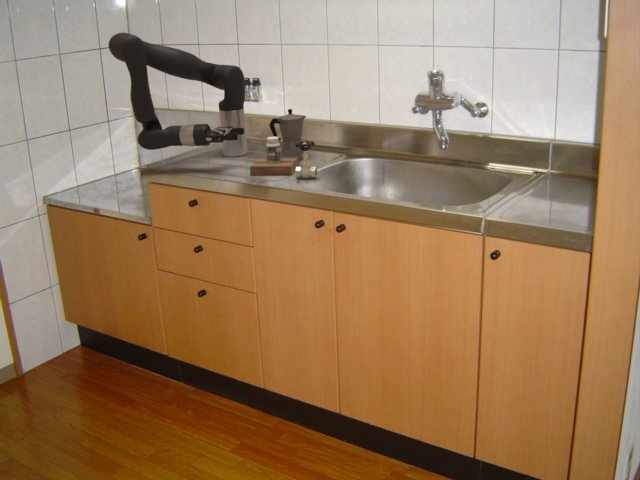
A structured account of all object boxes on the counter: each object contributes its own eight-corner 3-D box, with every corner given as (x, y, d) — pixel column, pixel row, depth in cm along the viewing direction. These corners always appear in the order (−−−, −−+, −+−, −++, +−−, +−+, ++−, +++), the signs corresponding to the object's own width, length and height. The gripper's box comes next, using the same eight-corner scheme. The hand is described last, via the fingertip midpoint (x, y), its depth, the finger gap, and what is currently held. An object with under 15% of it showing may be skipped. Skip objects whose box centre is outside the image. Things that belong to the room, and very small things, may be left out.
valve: (314, 181, 237) (312, 144, 233) (294, 181, 238) (292, 144, 234) (318, 176, 243) (316, 140, 239) (299, 176, 244) (296, 140, 240)
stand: (260, 165, 260) (259, 157, 259) (298, 165, 258) (298, 156, 257) (250, 175, 247) (249, 167, 246) (291, 175, 245) (290, 166, 244)
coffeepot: (300, 153, 276) (298, 105, 270) (315, 157, 268) (312, 108, 262) (265, 160, 268) (262, 111, 262) (279, 164, 260) (275, 114, 254)
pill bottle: (264, 162, 251) (262, 138, 248) (273, 159, 255) (272, 135, 252) (274, 164, 248) (272, 139, 245) (283, 161, 252) (282, 137, 249)
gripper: (187, 128, 245) (234, 127, 243) (200, 120, 258) (245, 118, 256) (190, 150, 248) (236, 149, 245) (203, 141, 261) (247, 139, 258)
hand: (240, 133), depth 250 cm, fingers open, 8 cm apart
